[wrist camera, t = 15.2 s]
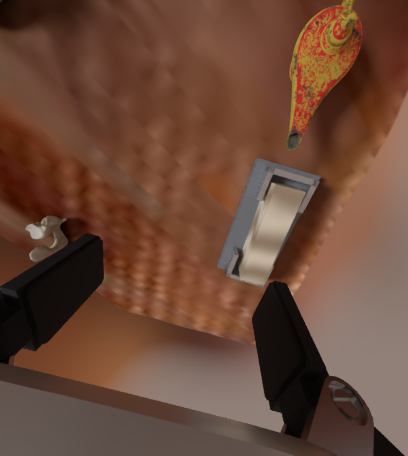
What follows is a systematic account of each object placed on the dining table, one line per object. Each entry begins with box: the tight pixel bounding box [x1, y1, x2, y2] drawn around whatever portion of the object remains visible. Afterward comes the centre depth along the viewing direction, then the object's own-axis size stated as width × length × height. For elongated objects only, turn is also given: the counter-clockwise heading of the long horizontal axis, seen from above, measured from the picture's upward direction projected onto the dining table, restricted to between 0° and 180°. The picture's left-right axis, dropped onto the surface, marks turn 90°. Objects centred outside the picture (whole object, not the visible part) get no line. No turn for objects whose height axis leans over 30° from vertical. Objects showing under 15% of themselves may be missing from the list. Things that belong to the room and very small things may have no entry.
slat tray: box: [217, 158, 321, 269], centre depth 31 cm, size 21×10×2 cm, turn 164°
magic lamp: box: [286, 0, 362, 151], centre depth 18 cm, size 7×18×11 cm, turn 164°
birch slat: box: [238, 181, 306, 285], centre depth 28 cm, size 16×4×5 cm, turn 167°
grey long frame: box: [225, 165, 320, 287], centre depth 29 cm, size 20×7×3 cm, turn 164°
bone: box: [26, 216, 68, 262], centre depth 33 cm, size 9×6×10 cm
